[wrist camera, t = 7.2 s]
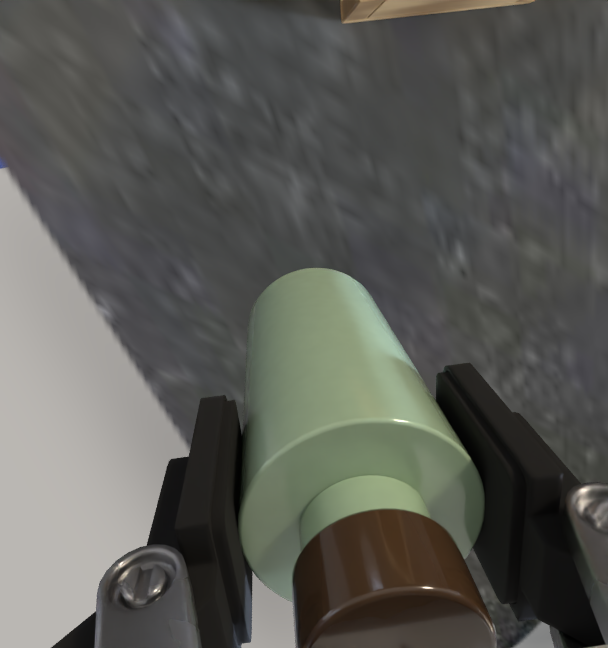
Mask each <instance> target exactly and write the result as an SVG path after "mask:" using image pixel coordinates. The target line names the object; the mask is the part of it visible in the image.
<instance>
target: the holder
mask: <svg viewBox="0 0 608 648" xmlns="http://www.w3.org/2000/svg"><path fill="white" fill-rule="evenodd" d="M533 1H535V0H340V7H341V22H342V23H343V24H344V23H353V22H362V21H372V20H381V19H390V18H399V17H408V16H417V15H427V14H436V13H445V12H454V11H463V10H472V9H482V8H491V7H500V6H509V5H518V4H527V3H531V2H533Z"/></svg>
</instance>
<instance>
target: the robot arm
mask: <svg viewBox="0 0 608 648" xmlns="http://www.w3.org/2000/svg"><path fill="white" fill-rule="evenodd" d="M436 402H437V404H438V405H439V407H440V409H441V410H442V412H443V413H444V415H445V417H446V418H447V420H448V422H449V423H450V425H451V426H452V428H453V430H454V431H455V433H456V434H457V436H458V438H459V439H460V441H461V443H462V444H463V446H464V447H465V449H466V451H467V452H468V454H469V455H470V457H471V459H472V460H473V462H474V464H475V465H476V467H477V468H478V471H479V473H480V476H481V478H482V481H483V486H484V492H485V513H484V521H483V524H482V528H481V531H480V534H479V536H478V538H477V540H476V543H475V545H474V546H473V549H474V551H475V553H476V555H477V557H478V559H479V561H480V563H481V565H482V567H483V569H484V571H485V573H486V575H487V577H488V579H489V581H490V583H491V586H492V588H493V590H494V592H495V594H496V596H497V598H498V599H499V601H500V602H501V603H502V604H508V603H509V604H510V606H511V608H512V610H513V612H514V614H515V616H516V618H517V620H518V621H525V620H532V619H538V620H540V621H542V622H544V623H546V624H548V625H550V633H551V637H552V641H553V644H554V647H555V648H608V483H601V482H591V483H583V484H581V483H580V482H579V481H578V480H577V478H576V477H575V476H574V475H573V474H572V473H571V472H570V470H569V469H568V468H567V467H566V466H565V465H564V464H563V462H562V461H561V460H560V459H559V458H558V457H557V456H556V454H555V453H554V452H553V451H552V450H551V449H550V447H549V446H548V445H547V444H546V443H545V442H544V441H543V439H542V438H541V437H540V436H539V435H538V434H537V433H536V431H535V430H534V429H533V428H532V427H531V426H530V425H529V423H528V422H527V421H526V420H525V419H524V418H523V417H522V416H521V415H520V414H519V413H516V412H511V410H510V409H509V408H508V407H507V406H506V405H505V403H504V402H503V401H502V400H501V399H500V397H499V396H498V395H497V394H496V393H495V392H494V390H493V389H492V388H491V387H490V386H489V384H488V383H487V382H486V381H485V380H484V379H483V377H482V376H481V375H480V374H479V373H478V372H477V370H476V369H475V368H474V367H473V366H472V365H471V364H470V363H464V364H457V365H449V366H445V367H444V370H443V372H442V373H438V374H437V376H436ZM241 448H242V434H241V429H240V423H239V418H238V412H237V407H236V402H235V400H232V401H227V399H226V396H225V395H223V396H215V397H208V398H201V400H200V405H199V410H198V414H197V419H196V424H195V429H194V434H193V439H192V444H191V449H190V453H189V457H183V458H176V459H171V460H170V461H169V464H168V466H167V470H166V474H165V477H164V481H163V485H162V489H161V492H160V496H159V500H158V504H157V508H156V512H155V516H154V520H153V524H152V527H151V531H150V535H149V539H148V542H147V546H143V547H140V548H138V549H135V550H133V551H131V552H128V553H127V554H125V555H124V556H123V557H121V558H120V559H118V560H117V561H116V562H115V563H114V564H113V565H112V566H111V567H110V568H109V569H108V570H107V571H106V573H105V574H104V576H103V578H102V580H101V581H100V584H99V588H98V592H97V605H96V612H95V613H93V614H92V615H91V616H90V617H88V618H87V619H86V620H85V621H83V622H82V623H81V624H80V625H79V626H77V627H76V628H75V629H74V630H72V631H71V632H70V633H69V634H67V635H66V636H65V637H64V638H63V639H61V640H60V641H59V642H58V643H56V644H55V645H54V646H53V647H52V648H241V644H242V643H249V642H251V633H252V632H251V630H252V569H251V568H250V567H249V565H248V563H247V561H246V559H245V557H244V555H243V552H242V548H241V544H240V539H239V533H238V526H237V525H238V506H239V487H240V467H241Z"/></svg>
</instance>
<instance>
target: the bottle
mask: <svg viewBox="0 0 608 648" xmlns="http://www.w3.org/2000/svg"><path fill="white" fill-rule="evenodd" d="M484 513H485V492H484V486H483V481H482V478H481V476H480V473H479V471H478V468H477V467H476V465H475V464H474V462H473V460H472V459H471V457H470V455H469V454H468V452H467V451H466V449H465V447H464V446H463V444H462V443H461V441H460V439H459V438H458V436H457V434H456V433H455V431H454V430H453V428H452V426H451V425H450V423H449V422H448V420H447V418H446V417H445V415H444V413H443V412H442V410H441V409H440V407H439V405H438V404H437V402H436V401H435V399H434V397H433V396H432V394H431V392H430V391H429V389H428V388H427V386H426V384H425V383H424V381H423V380H422V378H421V376H420V375H419V373H418V371H417V370H416V368H415V367H414V365H413V363H412V362H411V360H410V358H409V357H408V355H407V354H406V352H405V350H404V349H403V347H402V346H401V344H400V342H399V341H398V339H397V337H396V336H395V334H394V333H393V331H392V329H391V328H390V326H389V325H388V323H387V321H386V320H385V318H384V316H383V315H382V313H381V312H380V310H379V308H378V307H377V305H376V304H375V302H374V300H373V299H372V297H371V295H370V294H369V293H368V291H367V290H366V289H365V288H364V287H363V286H362V285H361V284H360V283H359V282H358V281H356V280H355V279H353V278H352V277H350V276H348V275H346V274H344V273H341V272H338V271H335V270H331V269H326V268H307V269H302V270H298V271H295V272H291V273H289V274H287V275H285V276H282V277H281V278H279V279H278V280H276V281H274V282H273V283H272V284H271V285H270V286H268V287H267V288H266V289H265V290H264V291H263V293H262V294H261V295H260V296H259V298H258V299H257V301H256V302H255V304H254V306H253V308H252V311H251V314H250V317H249V322H248V333H247V352H246V371H245V390H244V410H243V429H242V448H241V467H240V487H239V506H238V525H237V526H238V533H239V539H240V544H241V548H242V552H243V555H244V557H245V559H246V561H247V563H248V565H249V567H250V568H251V569H252V571H253V572H254V574H255V575H256V576H257V577H258V578H259V580H260V581H262V583H263V584H264V585H266V586H267V587H268V588H269V589H271V590H272V591H273V592H275V593H276V594H278V595H280V596H281V597H283V598H285V599H286V600H288V601H291V602H292V603H293V616H294V631H295V646H296V648H496V631H495V627H494V624H493V621H492V619H491V617H490V615H489V613H488V610H487V608H486V606H485V604H484V602H483V600H482V597H481V595H480V593H479V591H478V589H477V587H476V584H475V582H474V580H473V578H472V576H471V574H470V571H469V569H468V567H467V565H466V563H465V561H464V559H465V558H466V557H467V556H468V554H469V553H470V551H471V549H472V548H473V546H474V545H475V543H476V540H477V538H478V536H479V534H480V531H481V528H482V524H483V521H484Z"/></svg>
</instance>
